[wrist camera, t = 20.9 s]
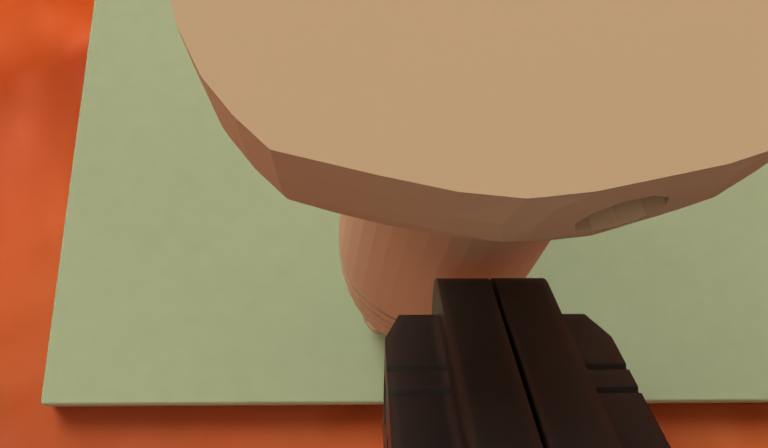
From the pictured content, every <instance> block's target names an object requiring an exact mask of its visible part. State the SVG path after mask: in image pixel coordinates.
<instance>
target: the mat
mask: <svg viewBox="0 0 768 448" xmlns="http://www.w3.org/2000/svg"><path fill="white" fill-rule="evenodd" d="M340 215H341V214H339V213H335V212H331V211H328V210H324V209H321V208H317V207H314V206H310V205H306V204H303V203H299V202H296V201H292V200H289V199H287V198H286V197H285V196H284V195H283V194H282V193H281V192H279V191H278V190H277V189H276V188H275V187H274V186H273V185H272V184H271V183H270V182H269V181H268V180H267V179H265V178H264V177H263V176H262V175H261V174H260V173H259V172H258V171H257V170H256V169H255V168H254V167H253V165H252V164H251V163H250V162H249V161H248V159H247V158H246V157H245V156H244V154H243V153H242V152H241V151H240V149H239V148H238V147H237V146H236V145H235V143H234V142H233V141H232V140H231V138H230V137H229V136H228V134H227V133H226V132H225V130H224V129H223V127H222V125H221V123H220V121H219V119H218V117H217V115H216V112H215V110H214V108H213V106H212V104H211V102H210V100H209V98H208V96H207V94H206V91H205V89H204V87H203V85H202V83H201V81H200V79H199V77H198V74H197V72H196V70H195V68H194V66H193V63H192V61H191V59H190V57H189V54H188V52H187V49H186V47H185V45H184V42H183V40H182V37H181V35H180V33H179V30H178V28H177V25H176V22H175V18H174V14H173V10H172V7H171V3H170V0H95V2H94V9H93V17H92V24H91V31H90V39H89V46H88V54H87V61H86V69H85V76H84V84H83V91H82V99H81V106H80V114H79V121H78V129H77V136H76V144H75V151H74V159H73V166H72V174H71V181H70V188H69V196H68V203H67V211H66V218H65V226H64V233H63V241H62V248H61V256H60V263H59V271H58V278H57V286H56V293H55V301H54V308H53V316H52V323H51V331H50V338H49V345H48V353H47V360H46V368H45V375H44V383H43V390H42V398H41V404H42V405H46V406H53V407H59V406H240V405H383V394H384V356H385V337H386V336H387V335H385V334H383V333H378V334H377V333H374V332H373V331H372V330H371V329H370V328H369V327H368V326H367V325H366V323H365V322H364V320H363V318H362V313H361V312H360V311H359V309H358V308H357V306H356V305H355V303H354V301H353V299H352V297H351V295H350V293H349V290H348V288H347V285H346V282H345V279H344V275H343V272H342V267H341V259H340V250H339V222H340ZM526 278H545V279H546V280H547V282H548V284H549V286H550V288H551V290H552V293H553V295H554V297H555V299H556V301H557V304H558V306H559V308H560V310H561V313H562V314H585V315H586V316H588V317H589V318H590V319H591V320H592V321H594V322H595V323H596V324H597V325H598V326H599V327H601V328H602V329H603V330H604V331H605V332H607V333H608V334H609V335H610V336H611V337H612V338H613V340H614V342H615V344H616V346H617V348H618V349H619V351H620V353H621V355H622V357H623V359H624V361H625V363H626V369H629V370H630V372H631V374H632V376H633V378H634V380H635V381H636V383H637V385H638V392H639V393H642V395H643V397H644V398H645V400H646V402H647V403H768V163H767V164H765V165H764V166H763V167H761V168H760V169H758V170H757V171H755V172H754V173H752V174H750V175H749V176H747V177H746V178H744V179H743V180H741V181H739V182H738V183H736V184H735V185H733V186H731V187H730V188H728V189H727V190H725V191H723V192H722V193H720V194H719V195H717V196H715V197H713V198H710V199H707V200H704V201H702V202H699V203H696V204H693V205H690V206H687V207H684V208H681V209H678V210H675V211H671V212H668V213H665V214H662V215H659V216H656V217H653V218H649V219H645V220H641V221H638V222H635V223H631V224H628V225H625V226H621V227H618V228H615V229H612V230H608V231H605V232H602V233H598V234H595V235H592V236H584V237H575V238H565V239H556V240H551V241H550V242H549V244H548V245H547V247H546V248H545V250H544V251H543V253H542V254H541V256H540V257H539V259H538V260H537V262H536V263H535V265H534V266H533V268H532V269H531V271H530V272H529V274H528V275H527V277H526Z"/></svg>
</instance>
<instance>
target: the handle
mask: <svg viewBox="0 0 768 448" xmlns="http://www.w3.org/2000/svg"><path fill="white" fill-rule="evenodd" d="M170 3H171V7H172V10H173V14H174V18H175V22H176V25H177V28H178V30H179V33H180V35H181V37H182V40H183V42H184V45H185V47H186V49H187V52H188V54H189V57H190V59H191V61H192V63H193V66H194V68H195V70H196V72H197V74H198V77H199V79H200V81H201V83H202V85H203V87H204V89H205V91H206V94H207V96H208V98H209V100H210V102H211V104H212V106H213V108H214V110H215V112H216V115H217V117H218V119H219V121H220V123H221V125H222V127H223V129H224V130H225V132H226V133H227V134H228V136H229V137H230V138H231V140H232V141H233V142H234V143H235V145H236V146H237V147H238V148H239V149H240V151H241V152H242V153H243V154H244V156H245V157H246V158H247V159H248V161H249V162H250V163H251V164H252V165H253V167H254V168H255V169H256V170H257V171H258V172H259V173H260V174H261V175H262V176H263V177H264V178H265V179H267V180H268V181H269V182H270V183H271V184H272V185H273V186H274V187H275V188H276V189H277V190H278V191H279V192H281V193H282V194H283V195H284V196H285V197H286V198H287V199H289V200H292V201H296V202H299V203H303V204H306V205H310V206H314V207H317V208H321V209H324V210H328V211H331V212H335V213H339V214H341V215H340V222H339V250H340V259H341V267H342V272H343V275H344V279H345V282H346V285H347V288H348V290H349V293H350V295H351V297H352V299H353V301H354V303H355V305H356V306H357V308H358V309H359V311H360V312H361V313H362V318H363V320H364V322H365V323H366V325H367V326H368V327H369V328H370V329H371V330H372V331H373V332H374V333H377V334H378V333H383V334H385V335H387V334H388V332H389V331H390V329H391V327H392V326H393V324H394V322H395V321H396V319H397V317H398V316H399V315H432V299H433V287H434V281H435V279H436V278H488V279H489V280H490V279H491V278H526V277H527V275H528V274H529V272H530V271H531V269H532V268H533V266H534V265H535V263H536V262H537V260H538V259H539V257H540V256H541V254H542V253H543V251H544V250H545V248H546V247H547V245H548V244H549V242H550V241H551V240H556V239H565V238H575V237H584V236H592V235H595V234H598V233H602V232H605V231H608V230H612V229H615V228H618V227H621V226H625V225H628V224H631V223H635V222H638V221H641V220H645V219H649V218H653V217H656V216H659V215H662V214H665V213H668V212H671V211H675V210H678V209H681V208H684V207H687V206H690V205H693V204H696V203H699V202H702V201H704V200H707V199H710V198H713V197H715V196H717V195H719V194H720V193H722V192H723V191H725V190H727V189H728V188H730V187H731V186H733V185H735V184H736V183H738V182H739V181H741V180H743V179H744V178H746V177H747V176H749V175H750V174H752V173H754V172H755V171H757V170H758V169H760V168H761V167H763V166H764V165H765V164H767V163H768V0H170Z"/></svg>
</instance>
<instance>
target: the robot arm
mask: <svg viewBox="0 0 768 448" xmlns="http://www.w3.org/2000/svg"><path fill="white" fill-rule="evenodd" d="M383 441H384V448H671V447H670V445H669V444H668V442H667V440H666V438H665V436H664V434H663V432H662V430H661V429H660V427H659V425H658V423H657V421H656V419H655V417H654V415H653V413H652V412H651V410H650V408H649V406H648V404H647V402H646V400H645V398H644V397H643V395H642V393H639V392H638V385H637V383H636V381H635V380H634V378H633V376H632V374H631V372H630V370H629V369H626V363H625V361H624V359H623V357H622V355H621V353H620V351H619V349H618V348H617V346H616V344H615V342H614V340H613V338H612V337H611V336H610V335H609V334H608V333H607V332H605V331H604V330H603V329H602V328H601V327H599V326H598V325H597V324H596V323H595V322H594V321H592V320H591V319H590V318H589V317H588V316H586V315H585V314H562V313H561V310H560V308H559V306H558V304H557V301H556V299H555V297H554V295H553V293H552V290H551V288H550V286H549V284H548V282H547V280H546V279H545V278H491V279H490V280H489V279H488V278H436V279H435V281H434V287H433V299H432V315H399V316H398V317H397V319H396V321H395V322H394V324H393V326H392V327H391V329H390V331H389V332H388V334H387V336H386V337H385V356H384V394H383Z"/></svg>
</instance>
